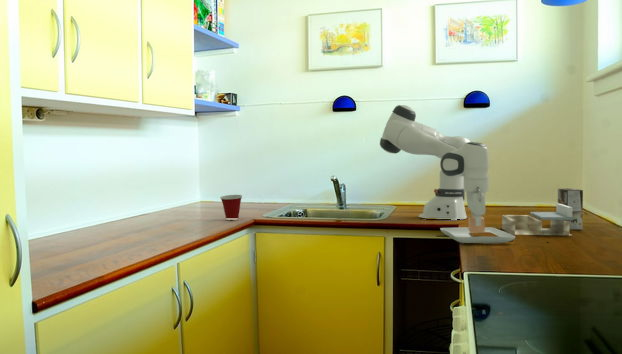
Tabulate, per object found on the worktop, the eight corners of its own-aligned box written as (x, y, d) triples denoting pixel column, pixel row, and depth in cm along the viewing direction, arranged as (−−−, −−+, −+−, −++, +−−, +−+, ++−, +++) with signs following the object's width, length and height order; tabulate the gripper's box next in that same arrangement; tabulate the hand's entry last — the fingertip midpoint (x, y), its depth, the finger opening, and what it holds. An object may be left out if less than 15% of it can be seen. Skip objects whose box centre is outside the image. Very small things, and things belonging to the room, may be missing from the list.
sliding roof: (541, 219, 179) (541, 207, 179) (530, 214, 193) (530, 203, 193) (573, 220, 177) (573, 207, 177) (559, 214, 191) (559, 203, 191)
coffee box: (583, 229, 194) (584, 190, 193) (567, 229, 195) (567, 190, 194) (571, 226, 204) (572, 188, 203) (556, 226, 204) (556, 188, 203)
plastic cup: (216, 220, 235) (215, 196, 234) (229, 217, 244) (229, 194, 244) (234, 222, 230) (233, 197, 229) (247, 219, 239) (246, 195, 238)
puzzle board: (510, 237, 181) (510, 220, 181) (501, 230, 195) (501, 215, 195) (572, 237, 178) (572, 220, 177) (558, 231, 192) (558, 215, 191)
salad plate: (492, 234, 189) (492, 226, 189) (516, 245, 168) (517, 235, 168) (438, 235, 189) (438, 227, 188) (456, 246, 167) (456, 237, 167)
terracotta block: (470, 232, 176) (470, 218, 176) (468, 229, 181) (468, 216, 181) (484, 232, 175) (484, 218, 175) (482, 230, 180) (482, 216, 180)
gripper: (489, 188, 166) (489, 228, 167) (481, 184, 186) (480, 219, 187) (470, 188, 168) (470, 228, 168) (464, 184, 188) (464, 219, 188)
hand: (476, 223), depth 178 cm, fingers open, 8 cm apart
